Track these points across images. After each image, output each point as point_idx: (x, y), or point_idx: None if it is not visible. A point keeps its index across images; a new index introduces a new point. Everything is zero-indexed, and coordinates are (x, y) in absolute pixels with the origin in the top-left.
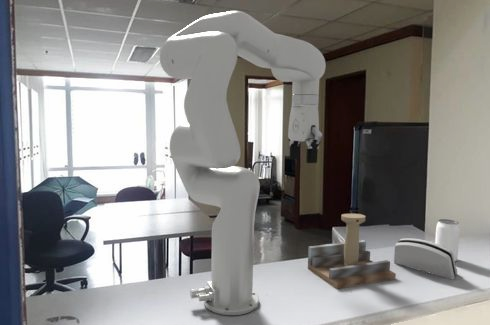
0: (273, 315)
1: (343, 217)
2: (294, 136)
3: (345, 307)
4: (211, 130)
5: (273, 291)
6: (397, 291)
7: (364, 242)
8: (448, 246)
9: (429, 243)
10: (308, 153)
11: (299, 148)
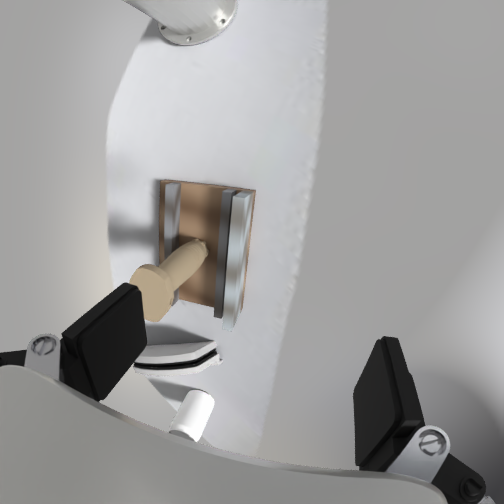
0: (143, 53)
1: (147, 267)
2: (191, 498)
3: (121, 153)
4: None
5: (199, 77)
6: (133, 256)
7: (223, 325)
8: (182, 405)
9: (149, 370)
10: (86, 319)
11: (357, 453)
